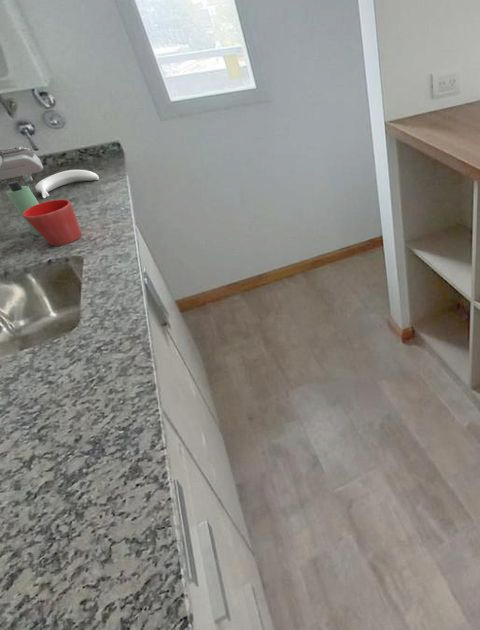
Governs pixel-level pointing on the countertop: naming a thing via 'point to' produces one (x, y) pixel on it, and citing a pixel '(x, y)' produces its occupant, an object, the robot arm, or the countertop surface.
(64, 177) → the banana
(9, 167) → the robot arm
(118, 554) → the countertop surface
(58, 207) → the flower pot
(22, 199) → the soap bottle
